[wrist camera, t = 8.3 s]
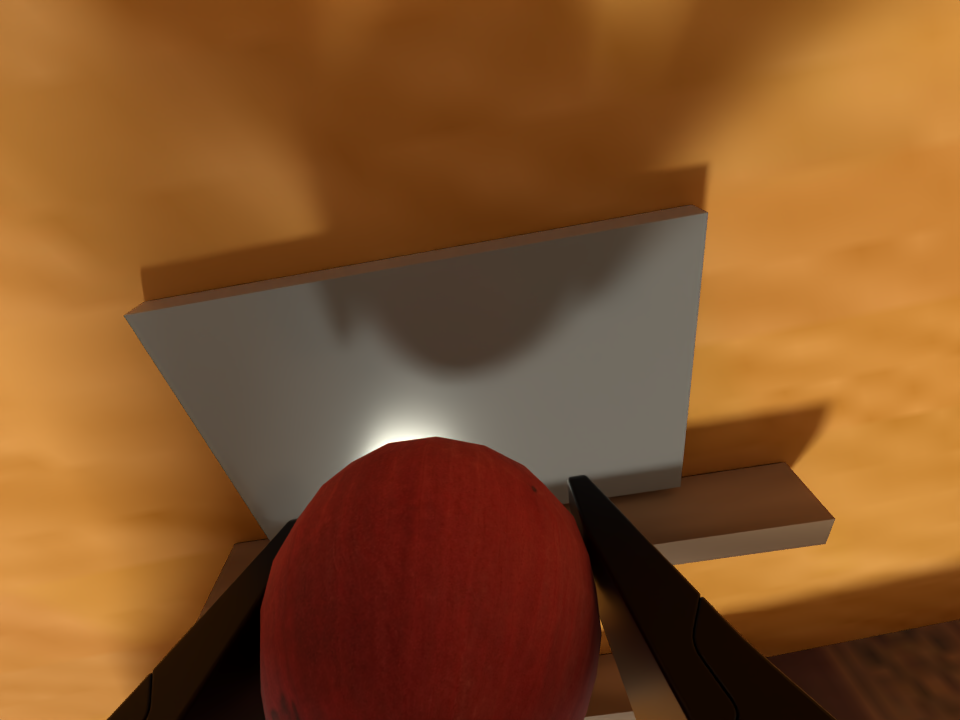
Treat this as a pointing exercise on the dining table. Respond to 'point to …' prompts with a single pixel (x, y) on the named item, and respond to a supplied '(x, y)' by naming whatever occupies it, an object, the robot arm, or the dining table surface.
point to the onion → (431, 595)
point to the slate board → (449, 359)
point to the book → (883, 675)
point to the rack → (678, 539)
